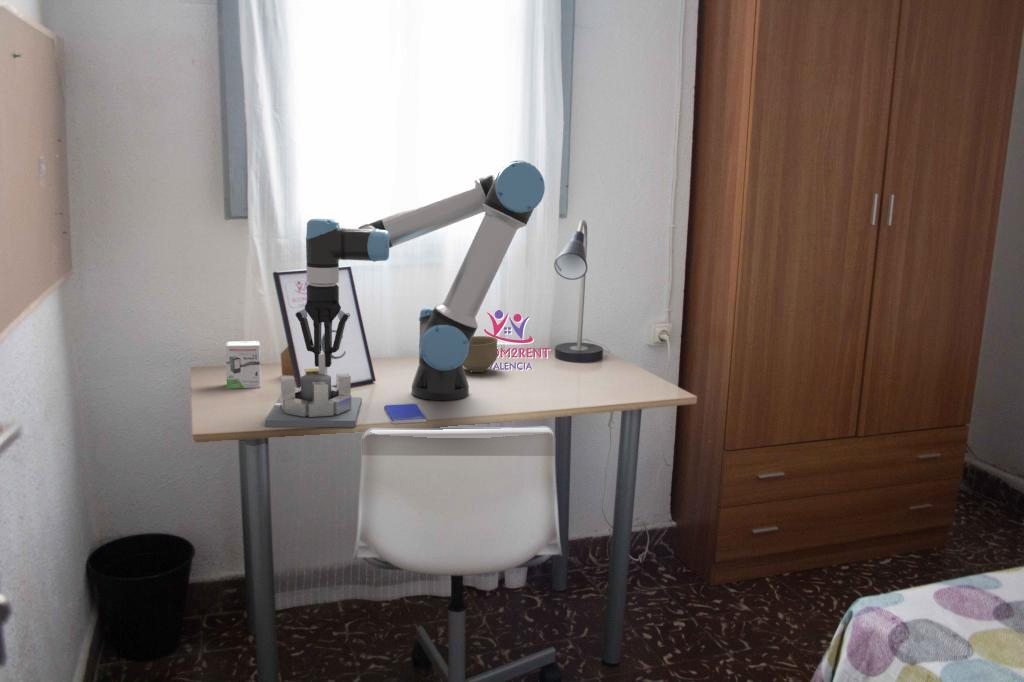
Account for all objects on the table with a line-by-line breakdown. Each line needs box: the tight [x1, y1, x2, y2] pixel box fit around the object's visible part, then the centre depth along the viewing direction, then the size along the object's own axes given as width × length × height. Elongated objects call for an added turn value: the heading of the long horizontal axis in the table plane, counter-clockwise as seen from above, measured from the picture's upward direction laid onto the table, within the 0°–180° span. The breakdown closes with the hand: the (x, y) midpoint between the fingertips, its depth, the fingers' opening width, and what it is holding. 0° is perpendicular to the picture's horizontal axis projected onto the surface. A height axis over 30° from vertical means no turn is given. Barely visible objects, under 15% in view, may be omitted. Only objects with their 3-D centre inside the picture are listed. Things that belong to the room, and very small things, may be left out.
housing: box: [264, 374, 363, 428], centre depth 195 cm, size 20×20×9 cm
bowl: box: [463, 335, 498, 373], centre depth 243 cm, size 13×13×10 cm
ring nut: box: [280, 367, 353, 417], centre depth 195 cm, size 16×16×8 cm
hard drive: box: [383, 403, 428, 425], centre depth 198 cm, size 2×8×12 cm
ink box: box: [225, 340, 261, 390], centre depth 216 cm, size 9×5×12 cm, turn 107°
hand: (323, 379), depth 201 cm, fingers closed
